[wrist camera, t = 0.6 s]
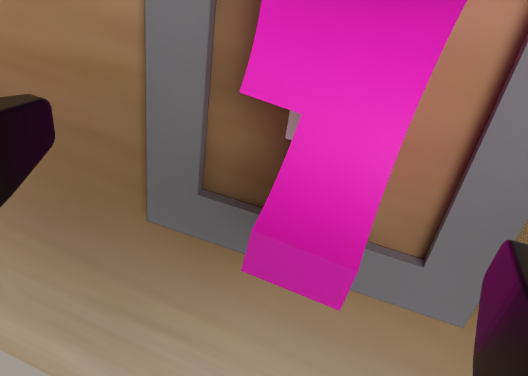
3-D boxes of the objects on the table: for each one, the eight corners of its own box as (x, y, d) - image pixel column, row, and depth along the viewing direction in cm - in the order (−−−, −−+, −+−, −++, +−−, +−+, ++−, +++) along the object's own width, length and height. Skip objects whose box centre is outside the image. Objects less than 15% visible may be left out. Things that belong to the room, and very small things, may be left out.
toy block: (338, -252, 15) (259, -331, 9) (544, -204, 14) (607, -255, 8) (248, 150, 24) (178, 245, 18) (370, 195, 23) (339, 310, 17)
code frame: (982, -574, 9) (1009, -597, 9) (463, 319, 25) (463, 328, 25) (151, -575, 13) (140, -592, 12) (152, 214, 29) (147, 220, 28)
